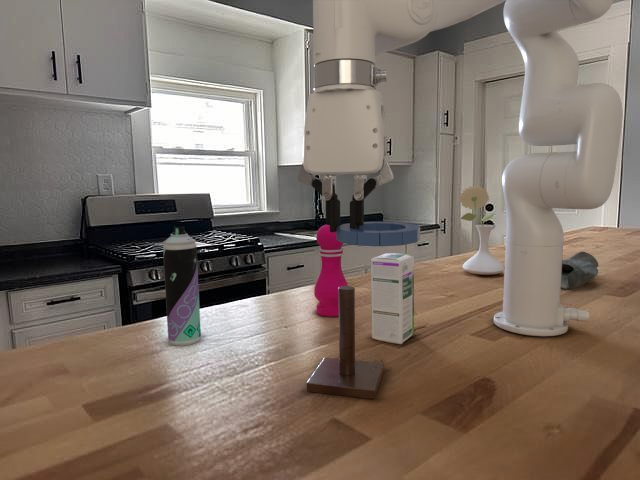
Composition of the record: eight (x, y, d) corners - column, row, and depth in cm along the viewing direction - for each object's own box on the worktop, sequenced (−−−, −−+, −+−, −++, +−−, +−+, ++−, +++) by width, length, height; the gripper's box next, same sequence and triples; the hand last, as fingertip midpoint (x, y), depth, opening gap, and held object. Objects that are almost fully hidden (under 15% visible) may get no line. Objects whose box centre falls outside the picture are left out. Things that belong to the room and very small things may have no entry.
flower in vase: (508, 271, 134) (511, 185, 131) (499, 279, 124) (503, 185, 121) (462, 267, 141) (464, 185, 138) (451, 274, 131) (453, 186, 128)
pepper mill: (346, 318, 92) (345, 218, 90) (311, 316, 94) (309, 218, 91) (351, 308, 99) (350, 215, 97) (318, 306, 101) (316, 215, 98)
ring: (423, 234, 62) (424, 222, 61) (412, 248, 52) (412, 233, 52) (350, 232, 65) (349, 220, 65) (326, 244, 55) (326, 231, 55)
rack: (384, 370, 67) (384, 281, 66) (374, 399, 59) (374, 298, 57) (324, 364, 70) (323, 278, 68) (306, 391, 61) (304, 294, 59)
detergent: (586, 293, 109) (617, 274, 126) (585, 263, 108) (616, 248, 125) (529, 288, 118) (565, 271, 135) (528, 260, 118) (564, 247, 134)
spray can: (171, 347, 77) (164, 229, 75) (166, 338, 82) (159, 226, 80) (204, 342, 80) (198, 226, 77) (197, 332, 85) (191, 224, 82)
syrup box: (402, 345, 77) (403, 259, 75) (370, 338, 80) (370, 256, 78) (414, 335, 82) (415, 254, 80) (383, 329, 85) (384, 251, 83)
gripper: (411, 84, 59) (409, 229, 61) (292, 91, 63) (294, 227, 65) (407, 71, 51) (405, 236, 54) (272, 80, 55) (276, 233, 58)
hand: (344, 230), depth 59 cm, fingers closed on ring, 2 cm apart
